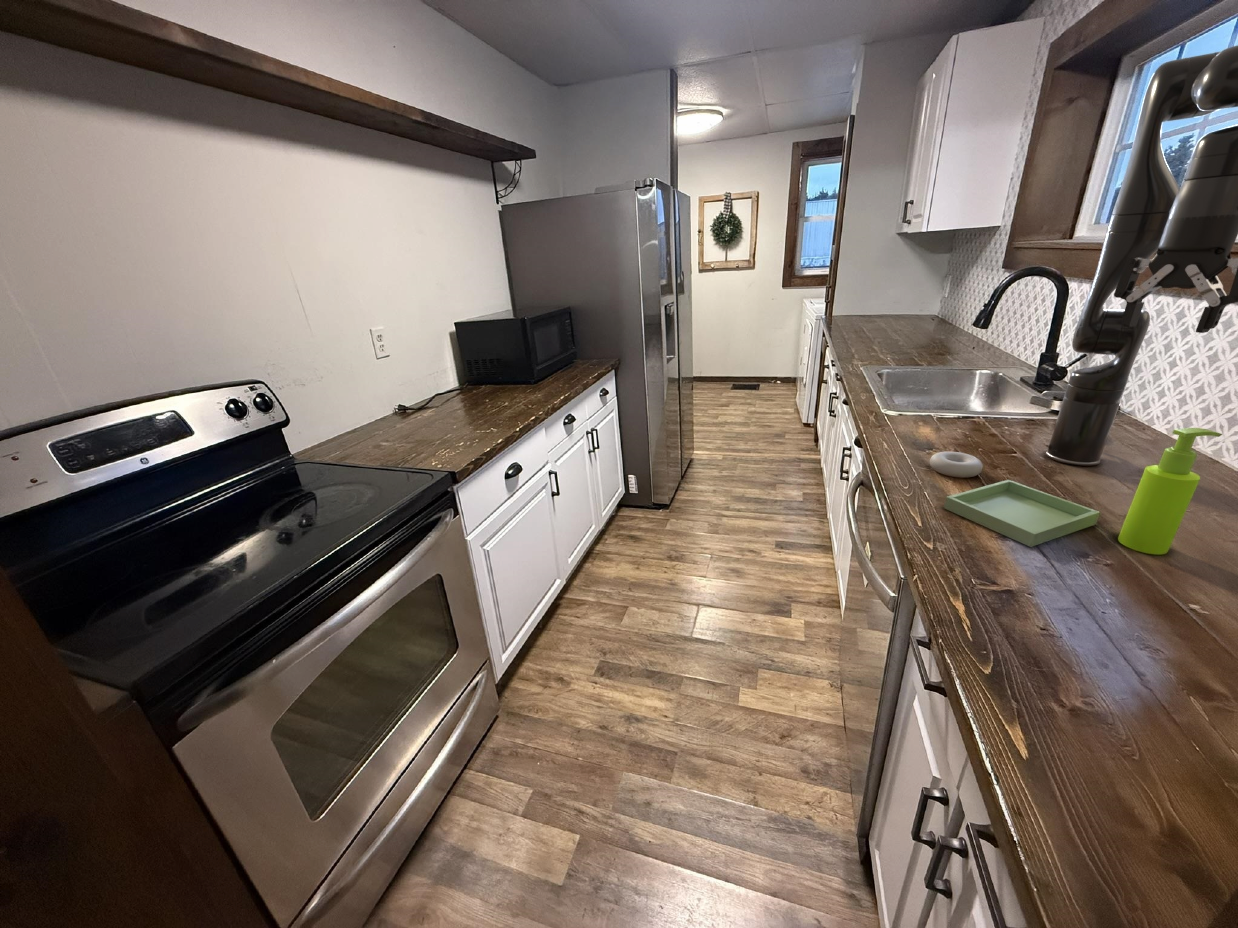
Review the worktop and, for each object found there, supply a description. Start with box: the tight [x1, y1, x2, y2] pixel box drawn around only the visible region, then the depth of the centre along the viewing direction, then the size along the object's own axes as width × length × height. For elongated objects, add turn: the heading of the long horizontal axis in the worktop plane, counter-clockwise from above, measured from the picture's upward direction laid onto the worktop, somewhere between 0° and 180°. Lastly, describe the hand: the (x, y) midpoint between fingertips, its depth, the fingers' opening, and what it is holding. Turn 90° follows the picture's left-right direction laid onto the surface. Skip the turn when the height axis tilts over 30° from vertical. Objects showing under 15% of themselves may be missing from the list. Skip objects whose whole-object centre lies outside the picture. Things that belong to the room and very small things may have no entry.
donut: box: [929, 450, 984, 479], centre depth 111 cm, size 10×4×10 cm
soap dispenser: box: [1117, 427, 1223, 555], centre depth 78 cm, size 6×7×20 cm
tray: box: [943, 479, 1101, 548], centre depth 92 cm, size 18×16×2 cm
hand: (1163, 329), depth 78 cm, fingers open, 8 cm apart
